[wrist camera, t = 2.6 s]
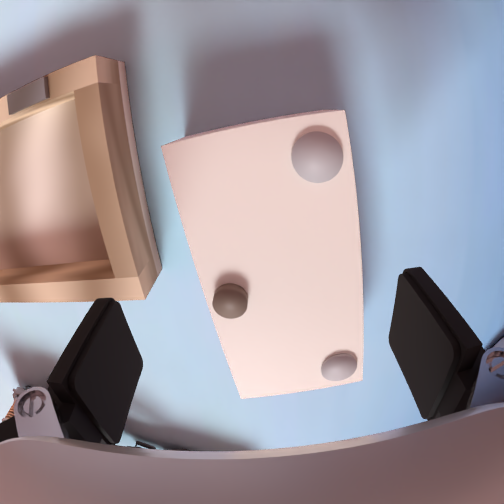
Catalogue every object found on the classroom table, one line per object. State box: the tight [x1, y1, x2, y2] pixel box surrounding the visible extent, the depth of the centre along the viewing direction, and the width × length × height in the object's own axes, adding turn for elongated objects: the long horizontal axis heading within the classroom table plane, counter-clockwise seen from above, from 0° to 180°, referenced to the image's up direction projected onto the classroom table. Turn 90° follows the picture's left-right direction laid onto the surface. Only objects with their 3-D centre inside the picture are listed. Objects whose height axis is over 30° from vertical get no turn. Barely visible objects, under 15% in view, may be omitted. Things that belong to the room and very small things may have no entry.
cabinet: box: [0, 55, 162, 302], centre depth 14 cm, size 17×11×3 cm, turn 96°
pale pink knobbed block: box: [161, 110, 363, 399], centre depth 15 cm, size 13×6×4 cm, turn 12°
